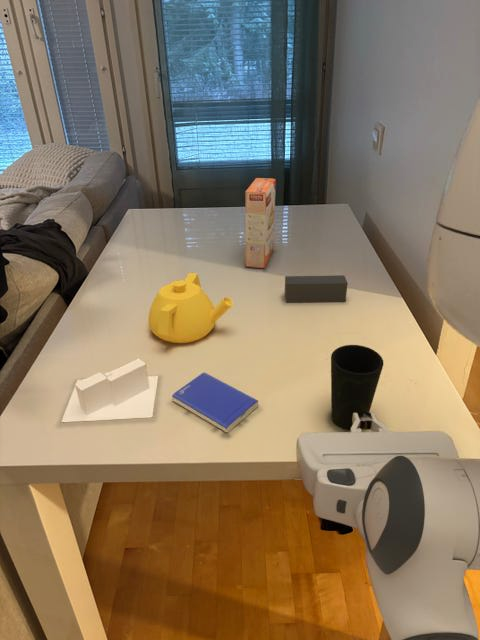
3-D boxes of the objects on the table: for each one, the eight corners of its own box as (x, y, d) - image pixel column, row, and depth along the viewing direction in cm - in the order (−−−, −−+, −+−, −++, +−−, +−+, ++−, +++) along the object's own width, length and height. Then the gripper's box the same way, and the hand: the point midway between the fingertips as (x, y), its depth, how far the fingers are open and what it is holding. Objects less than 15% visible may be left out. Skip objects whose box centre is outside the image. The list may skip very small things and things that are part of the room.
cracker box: (266, 269, 125) (267, 192, 114) (244, 267, 126) (243, 190, 116) (275, 249, 137) (276, 177, 126) (254, 248, 138) (254, 176, 127)
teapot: (221, 361, 90) (218, 312, 84) (133, 350, 94) (125, 302, 88) (244, 310, 106) (243, 266, 101) (169, 302, 110) (164, 260, 105)
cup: (369, 404, 79) (379, 345, 72) (376, 437, 72) (387, 375, 66) (323, 401, 79) (329, 343, 73) (326, 433, 73) (332, 373, 67)
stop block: (342, 294, 113) (344, 275, 110) (345, 302, 109) (347, 282, 107) (284, 294, 113) (285, 276, 110) (285, 302, 109) (286, 283, 107)
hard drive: (171, 394, 79) (226, 426, 73) (204, 371, 85) (258, 399, 78) (172, 401, 80) (226, 434, 73) (204, 378, 86) (258, 406, 79)
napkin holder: (158, 375, 87) (155, 349, 84) (153, 417, 77) (149, 390, 74) (76, 379, 86) (70, 354, 83) (60, 423, 76) (52, 396, 73)
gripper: (485, 478, 53) (440, 398, 65) (305, 480, 53) (293, 399, 65) (471, 514, 56) (431, 431, 68) (302, 515, 56) (291, 432, 68)
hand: (362, 416), depth 66 cm, fingers closed
